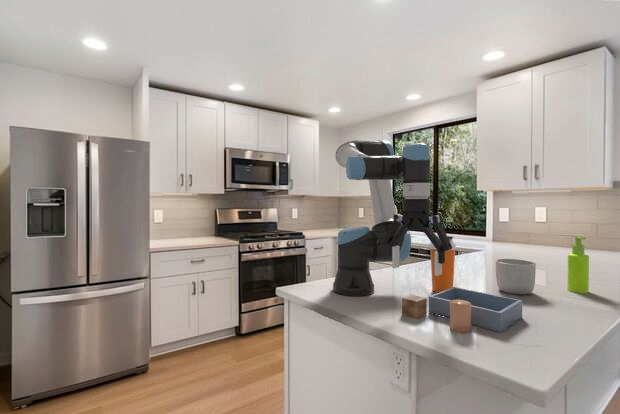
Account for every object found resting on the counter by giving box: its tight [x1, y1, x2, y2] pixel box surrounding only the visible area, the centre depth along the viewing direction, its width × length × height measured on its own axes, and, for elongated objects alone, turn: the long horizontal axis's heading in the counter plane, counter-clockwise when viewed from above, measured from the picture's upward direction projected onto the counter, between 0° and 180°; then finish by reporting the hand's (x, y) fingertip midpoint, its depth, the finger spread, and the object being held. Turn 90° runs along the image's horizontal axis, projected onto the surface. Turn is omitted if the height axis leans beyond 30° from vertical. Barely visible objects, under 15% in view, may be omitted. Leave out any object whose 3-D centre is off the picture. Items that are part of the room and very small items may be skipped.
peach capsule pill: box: [449, 300, 472, 334], centre depth 86 cm, size 5×5×7 cm
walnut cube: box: [401, 294, 428, 320], centre depth 97 cm, size 5×5×5 cm
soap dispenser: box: [567, 235, 590, 294], centre depth 119 cm, size 6×7×20 cm
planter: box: [495, 258, 537, 295], centre depth 120 cm, size 12×12×11 cm
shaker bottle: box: [429, 235, 457, 293], centre depth 122 cm, size 9×9×20 cm
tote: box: [428, 286, 523, 334], centre depth 96 cm, size 20×16×5 cm
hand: (416, 271), depth 97 cm, fingers open, 13 cm apart
